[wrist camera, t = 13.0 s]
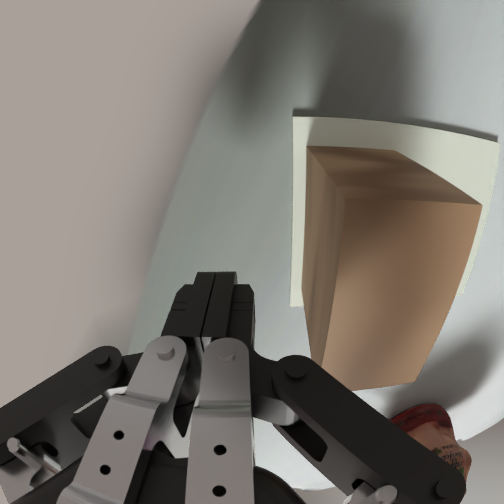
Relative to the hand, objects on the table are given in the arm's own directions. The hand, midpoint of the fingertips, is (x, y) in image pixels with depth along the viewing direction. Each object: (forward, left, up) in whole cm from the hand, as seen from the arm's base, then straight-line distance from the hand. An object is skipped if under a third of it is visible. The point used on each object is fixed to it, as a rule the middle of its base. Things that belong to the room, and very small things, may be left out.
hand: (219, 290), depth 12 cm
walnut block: (-7, 0, -6) cm, 9 cm away
